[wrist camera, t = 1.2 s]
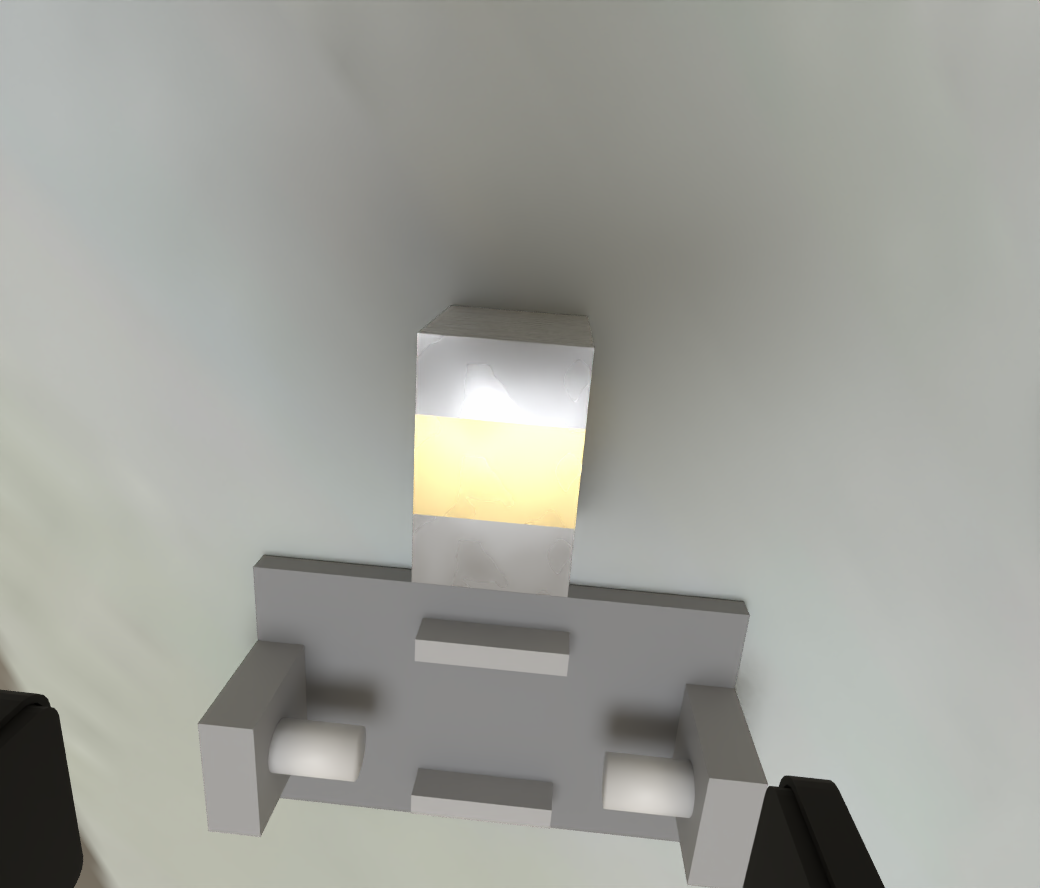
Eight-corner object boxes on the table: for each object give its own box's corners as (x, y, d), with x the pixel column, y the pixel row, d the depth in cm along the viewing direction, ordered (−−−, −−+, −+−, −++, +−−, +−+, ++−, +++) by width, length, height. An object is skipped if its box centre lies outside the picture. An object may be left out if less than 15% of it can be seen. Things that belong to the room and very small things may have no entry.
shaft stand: (275, 779, 33) (215, 898, 27) (263, 555, 29) (189, 639, 23) (698, 825, 32) (726, 957, 26) (743, 601, 28) (788, 700, 22)
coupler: (451, 305, 25) (417, 332, 19) (588, 316, 25) (594, 348, 19) (443, 505, 28) (411, 581, 22) (567, 517, 28) (567, 597, 22)
